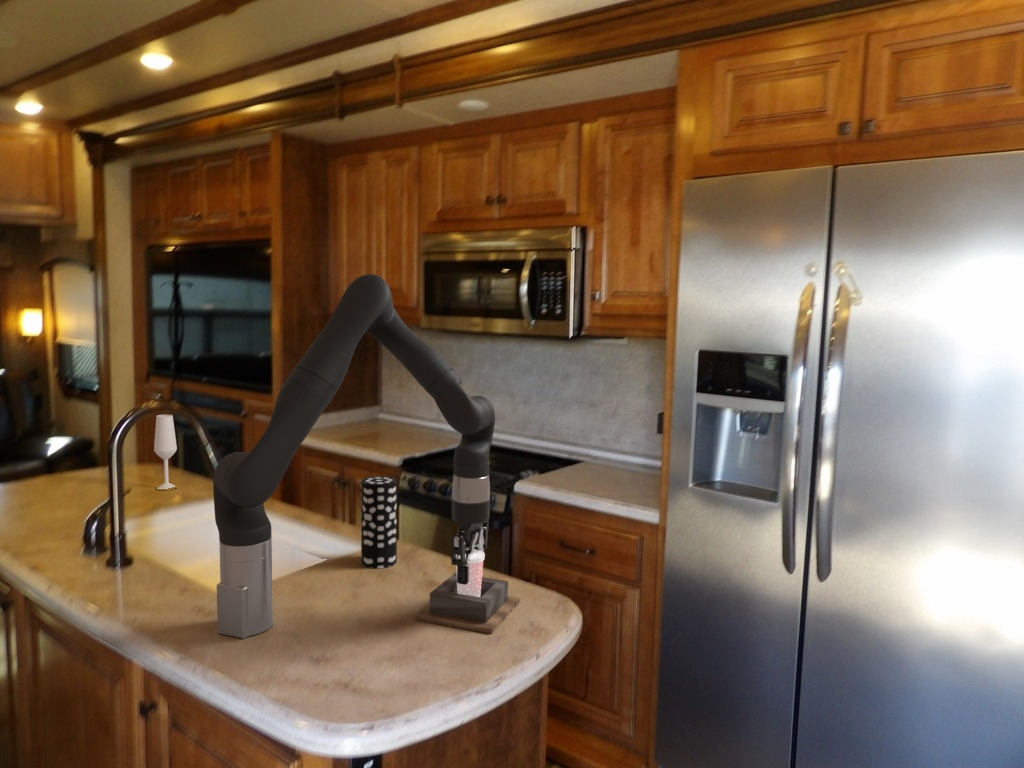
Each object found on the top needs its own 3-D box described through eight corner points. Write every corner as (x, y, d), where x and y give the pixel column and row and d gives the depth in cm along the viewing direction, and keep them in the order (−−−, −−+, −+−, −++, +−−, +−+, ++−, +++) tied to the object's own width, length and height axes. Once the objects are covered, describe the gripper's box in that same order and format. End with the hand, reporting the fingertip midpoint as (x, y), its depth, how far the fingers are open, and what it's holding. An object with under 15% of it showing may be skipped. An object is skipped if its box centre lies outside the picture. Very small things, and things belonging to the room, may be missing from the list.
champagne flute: (155, 491, 233) (153, 417, 230) (154, 487, 239) (152, 414, 236) (178, 489, 236) (176, 416, 234) (177, 485, 242) (175, 413, 239)
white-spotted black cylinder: (362, 569, 169) (362, 485, 167) (360, 557, 177) (360, 477, 175) (398, 567, 171) (398, 483, 169) (394, 555, 179) (394, 475, 177)
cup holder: (491, 634, 137) (492, 608, 137) (415, 619, 143) (416, 595, 142) (520, 602, 152) (520, 579, 152) (450, 590, 158) (450, 568, 157)
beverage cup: (450, 593, 149) (451, 526, 148) (478, 589, 151) (479, 524, 150) (458, 604, 143) (459, 535, 142) (488, 601, 145) (489, 533, 144)
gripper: (474, 507, 137) (472, 593, 139) (501, 490, 150) (499, 568, 152) (438, 503, 140) (436, 587, 141) (468, 486, 153) (466, 563, 155)
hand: (469, 577), depth 147 cm, fingers closed on beverage cup, 6 cm apart
